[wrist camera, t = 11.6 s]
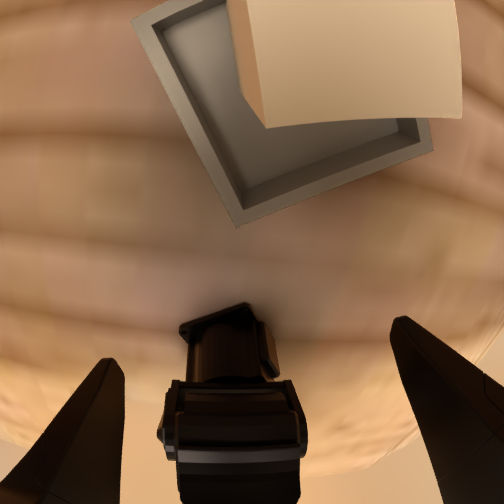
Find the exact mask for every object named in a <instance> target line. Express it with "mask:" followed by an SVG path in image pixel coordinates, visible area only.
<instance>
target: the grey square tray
mask: <svg viewBox="0 0 504 504" xmlns="http://www.w3.org/2000/svg"><path fill="white" fill-rule="evenodd" d="M130 22H131V24H132V26H133V28H134V30H135V32H136V34H137V36H138V38H139V40H140V42H141V44H142V46H143V48H144V50H145V52H146V54H147V56H148V58H149V60H150V62H151V64H152V65H153V67H154V69H155V71H156V73H157V75H158V77H159V79H160V81H161V83H162V85H163V87H164V89H165V91H166V93H167V95H168V97H169V99H170V101H171V103H172V105H173V107H174V109H175V111H176V112H177V114H178V116H179V118H180V120H181V122H182V124H183V126H184V128H185V130H186V132H187V134H188V136H189V138H190V140H191V142H192V144H193V146H194V148H195V150H196V152H197V153H198V155H199V157H200V159H201V161H202V163H203V165H204V167H205V169H206V171H207V173H208V175H209V177H210V179H211V181H212V183H213V185H214V187H215V188H216V190H217V192H218V194H219V196H220V198H221V200H222V202H223V204H224V206H225V208H226V210H227V212H228V214H229V216H230V218H231V220H232V221H233V223H234V225H235V227H236V228H237V227H240V226H242V225H244V224H247V223H249V222H252V221H254V220H256V219H259V218H261V217H264V216H266V215H269V214H271V213H274V212H276V211H278V210H281V209H283V208H286V207H288V206H291V205H293V204H296V203H298V202H301V201H303V200H306V199H308V198H311V197H313V196H316V195H318V194H321V193H323V192H326V191H328V190H331V189H333V188H336V187H339V186H341V185H344V184H346V183H349V182H351V181H354V180H357V179H359V178H362V177H364V176H367V175H370V174H372V173H375V172H377V171H380V170H383V169H385V168H388V167H391V166H393V165H396V164H399V163H401V162H404V161H407V160H409V159H412V158H415V157H417V156H420V155H423V154H426V153H428V152H431V151H433V145H432V139H431V134H430V129H429V124H428V119H427V118H378V119H358V120H343V121H330V122H318V123H308V124H299V125H290V126H282V127H274V128H267V129H266V128H265V126H264V125H263V123H262V122H261V121H260V119H259V118H258V116H257V115H256V113H255V112H254V111H253V109H252V108H251V106H250V105H249V104H248V102H247V101H246V100H245V98H244V97H243V95H242V94H241V93H240V91H239V85H238V79H237V73H236V67H235V60H234V54H233V48H232V42H231V36H230V30H229V24H228V18H227V12H226V0H169V1H167V2H164V3H162V4H160V5H158V6H156V7H154V8H152V9H151V10H149V11H147V12H145V13H143V14H141V15H139V16H137V17H136V18H134V19H132V20H130Z"/></svg>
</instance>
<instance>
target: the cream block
mask: <svg viewBox="0 0 504 504" xmlns="http://www.w3.org/2000/svg"><path fill="white" fill-rule="evenodd" d="M226 12H227V18H228V24H229V30H230V36H231V42H232V48H233V54H234V60H235V67H236V73H237V79H238V85H239V91H240V93H241V94H242V95H243V97H244V98H245V100H246V101H247V102H248V104H249V105H250V106H251V108H252V109H253V111H254V112H255V113H256V115H257V116H258V118H259V119H260V121H261V122H262V123H263V125H264V126H265V128H266V129H267V128H274V127H282V126H290V125H299V124H308V123H318V122H330V121H343V120H358V119H378V118H461V119H462V71H461V54H460V42H459V32H458V23H457V16H456V9H455V2H454V0H226Z"/></svg>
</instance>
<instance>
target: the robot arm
mask: <svg viewBox="0 0 504 504" xmlns="http://www.w3.org/2000/svg"><path fill="white" fill-rule="evenodd" d="M243 309H247V310H243ZM183 330H185V331H183ZM179 334H180V336H181V337H182V338H183V339H184V340H185V341H186V343H187V344H188V353H187V367H186V381H180V380H172V384H171V388H169V389H168V392H167V393H166V396H165V406H164V412H163V415H162V418H161V421H160V423H159V426H158V429H157V438H158V439H159V440H160V441H161V442H162V443H163V445H164V449H165V451H166V456H167V459H168V460H171V461H176V470H177V485H178V491H179V492H180V500H181V502H182V503H183V504H297V502H298V499H299V498H300V495H301V491H300V458H303V457H304V456H305V454H306V451H307V445H308V430H307V423H306V418H305V415H304V412H303V409H302V407H301V404H300V402H299V399H298V396H297V394H296V391H295V389H294V386H293V384H292V381H291V380H284V381H278V382H275V381H274V378H277V377H279V375H280V370H279V364H278V358H277V353H276V347H275V342H274V338H273V336H272V335H271V333H270V331H269V330H268V328H267V326H266V324H265V323H264V322H263V321H259V320H258V318H257V316H256V315H255V313H254V311H253V310H252V308H251V306H250V305H249V304H246V303H244V304H240V305H237V306H235V307H232V308H229V309H226V310H224V311H221V312H218V313H215V314H213V315H210V316H207V317H204V318H201V319H198V320H196V321H193V322H190V323H187V324H184V325H181V326H180V327H179ZM390 343H391V346H392V350H393V353H394V356H395V360H396V363H397V367H398V371H399V374H400V378H401V381H402V384H403V386H404V389H405V391H406V394H407V397H408V399H409V402H410V404H411V407H412V410H413V412H414V415H415V418H416V420H417V423H418V426H419V429H420V431H421V434H422V437H423V440H424V443H425V445H426V449H427V451H428V454H429V457H430V460H431V463H432V467H433V470H434V473H435V476H436V479H437V481H438V486H439V489H440V493H441V496H442V500H443V503H444V504H504V387H503V386H502V385H500V384H499V383H497V382H496V381H495V380H493V379H492V378H491V377H489V376H488V375H487V374H485V373H484V374H483V371H481V370H480V369H479V368H477V367H476V366H475V365H473V364H472V363H471V362H469V361H468V360H467V359H465V358H464V357H463V356H461V355H460V354H459V353H457V352H456V351H455V350H453V349H452V348H451V347H449V346H448V345H447V344H445V343H444V342H443V341H441V340H440V339H438V338H437V337H436V336H434V335H433V334H432V333H430V332H429V331H427V330H426V329H425V328H423V327H422V326H420V325H419V324H418V323H416V322H415V321H414V320H412V319H411V318H409V317H408V316H400V317H396V318H395V319H394V320H393V324H392V328H391V331H390ZM124 420H125V377H124V373H123V371H122V370H121V368H120V367H119V365H118V364H117V362H116V360H115V359H114V358H102V359H101V360H100V361H99V362H98V363H97V364H96V366H95V367H94V368H93V369H92V371H91V372H90V373H89V374H88V376H87V377H86V378H85V379H84V381H83V382H82V383H81V384H80V386H79V387H78V388H77V389H76V391H75V392H74V393H73V394H72V396H71V397H70V398H69V400H68V401H67V402H66V403H65V405H64V406H63V407H62V408H61V410H60V411H59V412H58V414H57V415H56V416H55V418H54V419H53V420H52V421H51V423H50V424H49V425H48V427H47V428H46V429H45V431H44V433H42V435H41V436H40V437H39V439H38V440H37V441H36V442H35V444H34V445H33V446H32V448H31V449H30V450H29V451H28V452H27V454H26V455H25V456H24V457H23V458H22V459H21V460H20V462H19V463H18V464H17V465H16V466H15V467H14V468H13V469H12V471H11V472H10V473H9V474H8V475H7V476H6V477H5V478H4V479H3V480H2V481H1V482H0V504H120V478H121V460H122V444H123V432H124Z"/></svg>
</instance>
